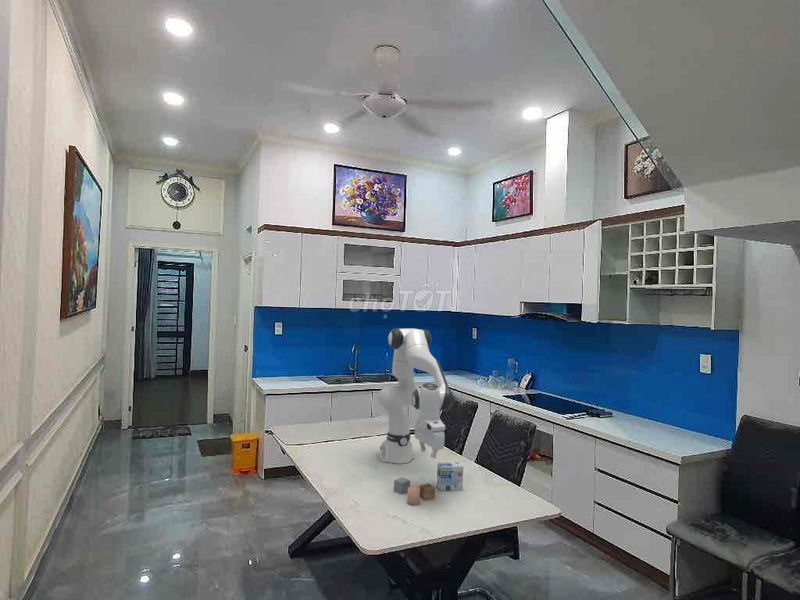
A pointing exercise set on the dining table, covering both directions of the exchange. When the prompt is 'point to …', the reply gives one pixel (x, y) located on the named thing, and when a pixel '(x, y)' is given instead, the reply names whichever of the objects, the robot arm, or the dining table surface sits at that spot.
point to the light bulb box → (450, 476)
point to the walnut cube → (427, 491)
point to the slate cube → (401, 485)
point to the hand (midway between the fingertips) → (428, 454)
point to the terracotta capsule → (413, 495)
